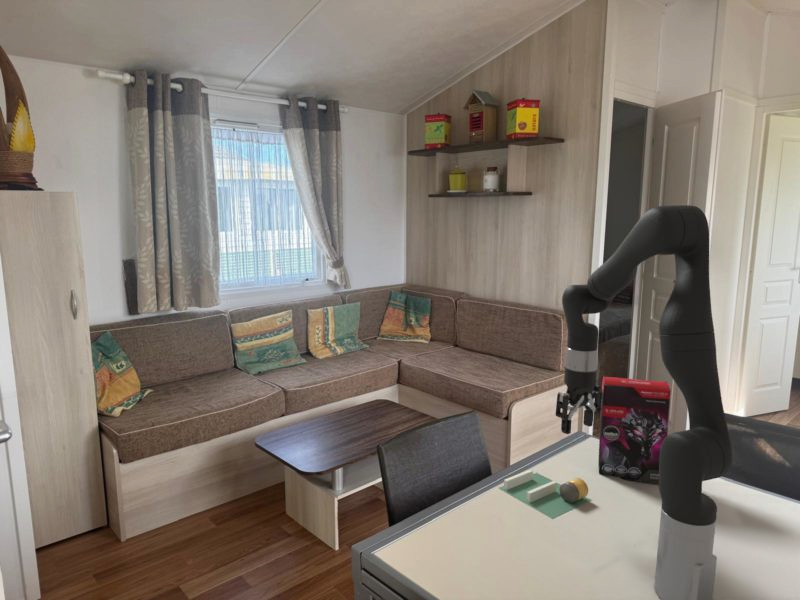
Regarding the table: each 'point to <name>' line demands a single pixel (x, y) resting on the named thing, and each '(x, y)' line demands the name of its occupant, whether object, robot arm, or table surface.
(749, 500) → the table surface
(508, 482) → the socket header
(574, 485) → the amber plug
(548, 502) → the green board
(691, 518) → the robot arm
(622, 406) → the graphics card box
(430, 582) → the table surface
